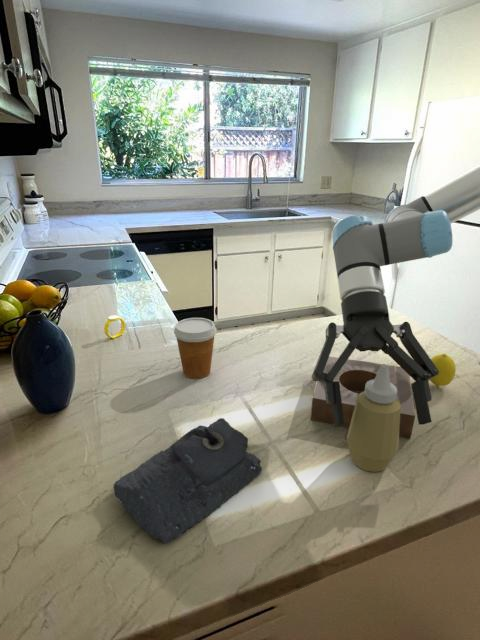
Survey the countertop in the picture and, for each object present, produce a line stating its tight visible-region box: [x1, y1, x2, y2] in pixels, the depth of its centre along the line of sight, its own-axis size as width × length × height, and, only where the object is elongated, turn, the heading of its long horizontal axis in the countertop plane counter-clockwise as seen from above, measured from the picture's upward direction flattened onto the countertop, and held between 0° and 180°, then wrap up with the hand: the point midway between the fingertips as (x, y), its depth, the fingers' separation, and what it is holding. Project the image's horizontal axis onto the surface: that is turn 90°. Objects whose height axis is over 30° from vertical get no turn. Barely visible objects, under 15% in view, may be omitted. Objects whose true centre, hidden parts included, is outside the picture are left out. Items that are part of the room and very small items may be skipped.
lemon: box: [429, 353, 457, 387], centre depth 88 cm, size 6×6×8 cm
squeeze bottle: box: [346, 363, 401, 473], centre depth 64 cm, size 8×8×18 cm
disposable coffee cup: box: [173, 317, 217, 380], centre depth 92 cm, size 10×10×12 cm
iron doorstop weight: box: [113, 417, 263, 544], centre depth 62 cm, size 15×22×5 cm
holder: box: [310, 355, 416, 440], centre depth 82 cm, size 18×18×5 cm
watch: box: [103, 314, 126, 340], centre depth 110 cm, size 6×3×6 cm, turn 144°
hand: (382, 424), depth 62 cm, fingers open, 13 cm apart
